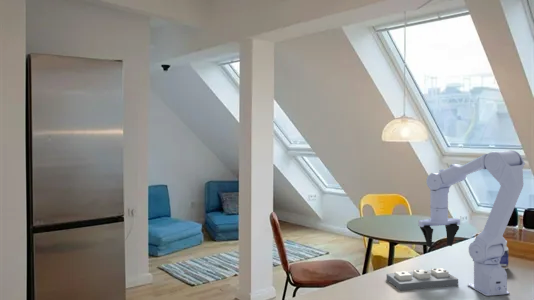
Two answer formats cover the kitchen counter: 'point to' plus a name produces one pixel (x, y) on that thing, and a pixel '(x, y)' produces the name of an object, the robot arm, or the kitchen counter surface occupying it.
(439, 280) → the button board
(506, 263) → the pill bottle
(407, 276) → the tile one
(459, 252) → the kitchen counter surface
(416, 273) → the tile two
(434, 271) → the tile three
